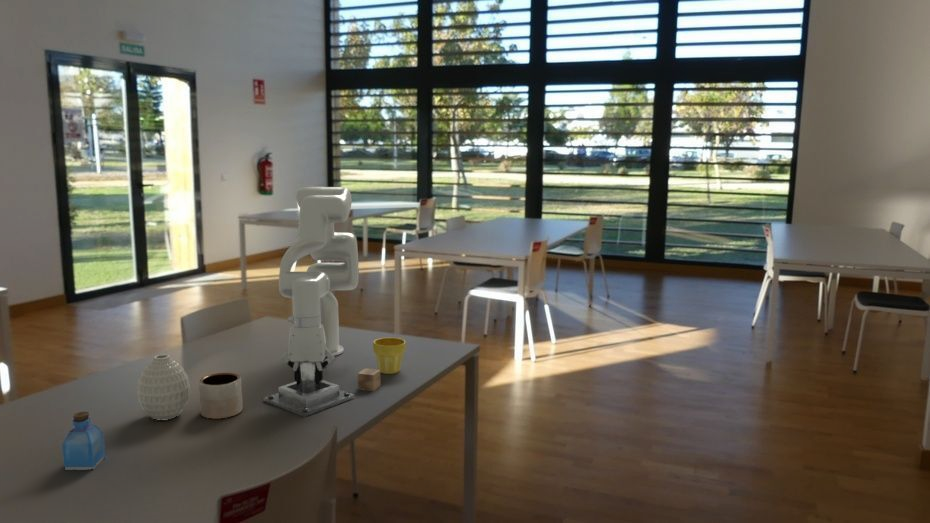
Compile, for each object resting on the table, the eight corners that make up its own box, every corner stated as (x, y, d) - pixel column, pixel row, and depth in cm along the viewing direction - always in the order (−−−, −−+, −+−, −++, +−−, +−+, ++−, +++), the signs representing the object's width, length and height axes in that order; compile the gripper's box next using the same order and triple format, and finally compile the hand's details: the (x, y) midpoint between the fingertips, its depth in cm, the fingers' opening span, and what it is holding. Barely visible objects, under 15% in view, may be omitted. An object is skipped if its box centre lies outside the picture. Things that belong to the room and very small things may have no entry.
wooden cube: (358, 389, 207) (358, 373, 206) (365, 383, 212) (365, 368, 211) (373, 391, 205) (373, 375, 205) (380, 385, 210) (380, 370, 209)
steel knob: (296, 393, 195) (295, 359, 193) (300, 386, 200) (299, 353, 199) (317, 393, 195) (316, 359, 193) (320, 386, 201) (320, 352, 199)
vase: (166, 429, 177) (162, 366, 174) (128, 421, 181) (123, 360, 179) (202, 411, 189) (198, 352, 186) (164, 404, 193) (160, 346, 190)
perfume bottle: (77, 458, 160) (73, 409, 158) (105, 457, 161) (101, 408, 159) (64, 471, 154) (59, 420, 152) (93, 470, 155) (89, 419, 153)
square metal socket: (263, 401, 196) (262, 387, 196) (313, 384, 211) (312, 371, 210) (304, 416, 186) (304, 402, 185) (354, 397, 200) (354, 384, 199)
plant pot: (408, 366, 228) (408, 337, 227) (402, 376, 218) (402, 346, 217) (377, 364, 229) (377, 336, 228) (370, 375, 219) (369, 345, 218)
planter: (251, 408, 192) (249, 374, 190) (225, 422, 182) (223, 387, 180) (218, 402, 195) (216, 370, 194) (191, 417, 185) (189, 382, 183)
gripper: (273, 324, 190) (275, 387, 193) (335, 324, 191) (337, 387, 194) (279, 317, 198) (281, 378, 201) (339, 317, 198) (340, 378, 201)
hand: (308, 382), depth 197 cm, fingers closed on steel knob, 5 cm apart
